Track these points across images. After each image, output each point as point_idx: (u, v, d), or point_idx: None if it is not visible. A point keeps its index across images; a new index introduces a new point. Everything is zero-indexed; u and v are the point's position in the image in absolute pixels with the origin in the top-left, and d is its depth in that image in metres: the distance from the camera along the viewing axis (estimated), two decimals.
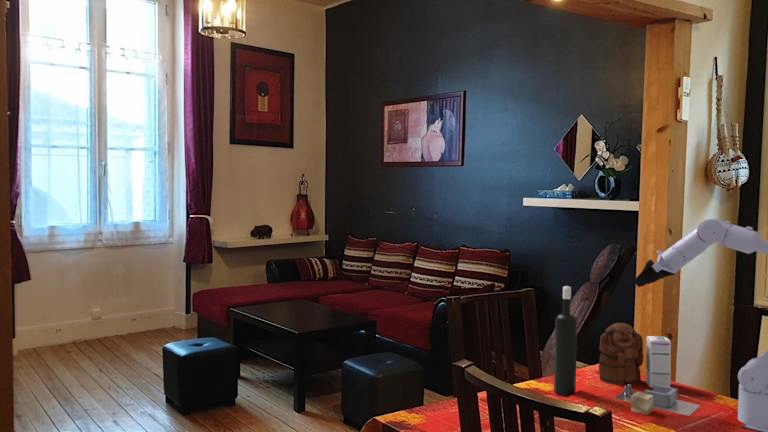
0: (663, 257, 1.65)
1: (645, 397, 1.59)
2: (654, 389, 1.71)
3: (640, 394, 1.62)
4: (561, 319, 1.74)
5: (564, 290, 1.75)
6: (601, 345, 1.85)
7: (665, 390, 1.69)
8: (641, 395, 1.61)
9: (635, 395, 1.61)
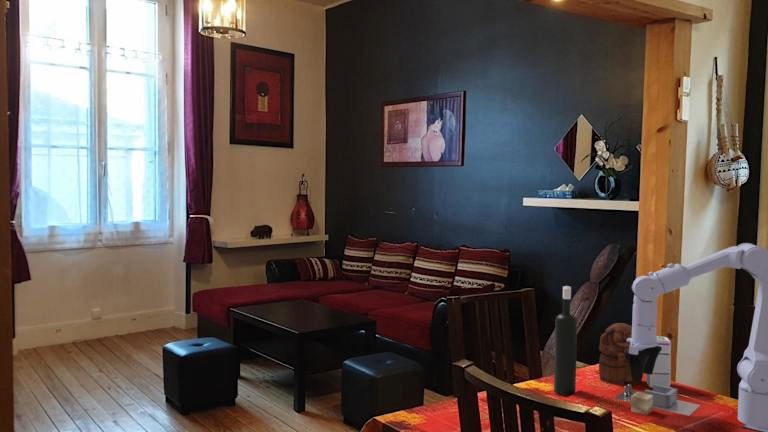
0: (634, 340, 1.60)
1: (645, 397, 1.59)
2: (654, 389, 1.71)
3: (640, 394, 1.62)
4: (561, 319, 1.74)
5: (564, 290, 1.75)
6: (601, 345, 1.85)
7: (665, 390, 1.69)
8: (641, 395, 1.61)
9: (635, 395, 1.61)
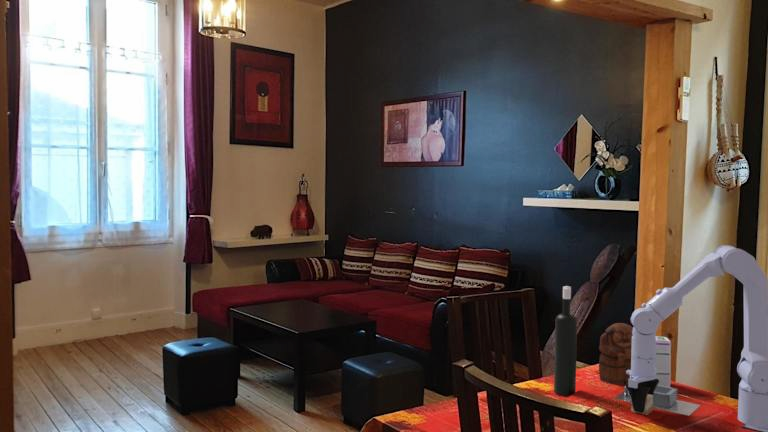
0: (633, 372, 1.60)
1: None
2: None
3: None
4: (561, 319, 1.74)
5: (564, 290, 1.75)
6: (601, 345, 1.85)
7: (665, 390, 1.69)
8: None
9: None
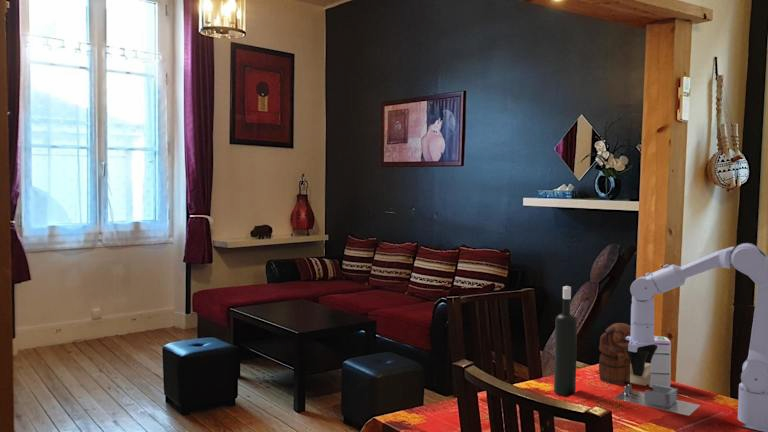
0: (632, 338, 1.67)
1: None
2: (654, 389, 1.71)
3: None
4: (561, 319, 1.74)
5: (564, 290, 1.75)
6: (601, 345, 1.85)
7: (665, 390, 1.69)
8: None
9: None
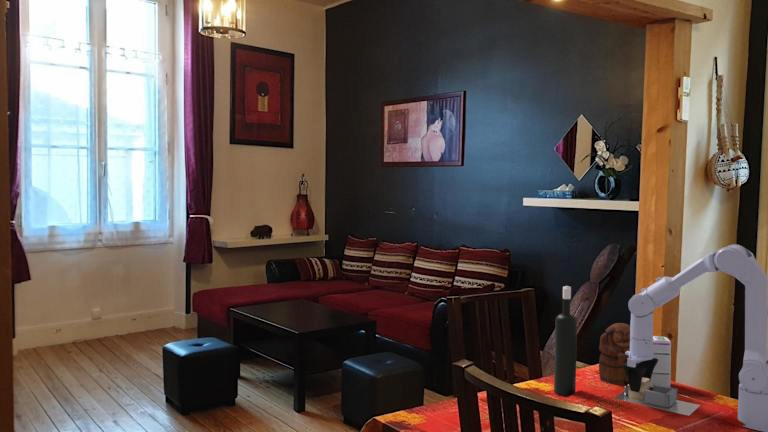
0: (632, 353, 1.70)
1: (642, 380, 1.69)
2: (654, 389, 1.71)
3: None
4: (561, 319, 1.74)
5: (564, 290, 1.75)
6: (601, 345, 1.85)
7: (665, 390, 1.69)
8: None
9: None
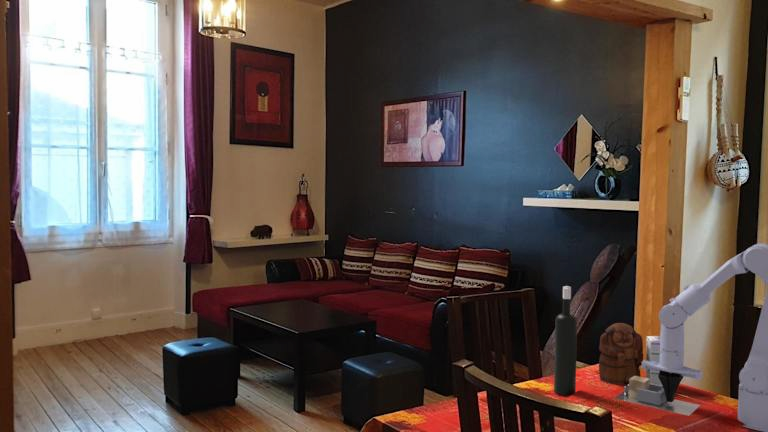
0: None
1: (642, 380, 1.69)
2: None
3: (637, 377, 1.72)
4: (561, 319, 1.74)
5: (564, 290, 1.75)
6: (601, 345, 1.85)
7: (657, 388, 1.71)
8: (639, 378, 1.71)
9: (633, 378, 1.71)
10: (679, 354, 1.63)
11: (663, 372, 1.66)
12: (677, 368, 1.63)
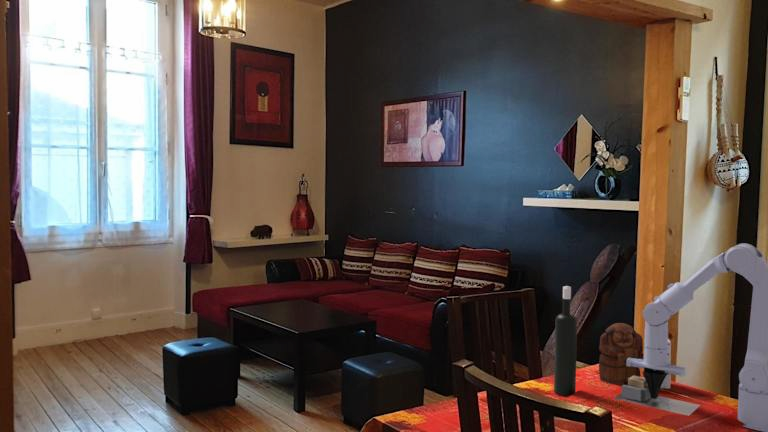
0: None
1: (641, 380, 1.70)
2: None
3: (636, 377, 1.72)
4: (561, 319, 1.74)
5: (564, 290, 1.75)
6: (601, 345, 1.85)
7: None
8: (638, 378, 1.72)
9: (632, 378, 1.71)
10: (663, 351, 1.65)
11: (647, 369, 1.69)
12: (661, 365, 1.65)
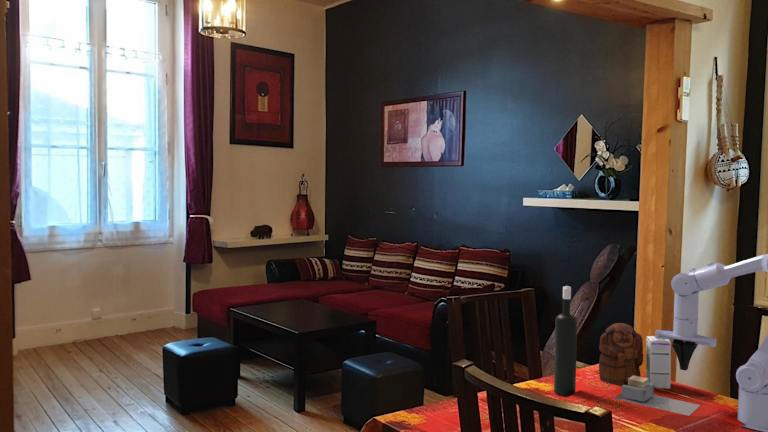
0: None
1: (641, 380, 1.70)
2: None
3: (636, 377, 1.72)
4: (561, 319, 1.74)
5: (564, 290, 1.75)
6: (601, 345, 1.85)
7: None
8: (638, 378, 1.72)
9: (632, 378, 1.71)
10: (693, 322, 1.63)
11: (677, 341, 1.67)
12: (691, 336, 1.64)
